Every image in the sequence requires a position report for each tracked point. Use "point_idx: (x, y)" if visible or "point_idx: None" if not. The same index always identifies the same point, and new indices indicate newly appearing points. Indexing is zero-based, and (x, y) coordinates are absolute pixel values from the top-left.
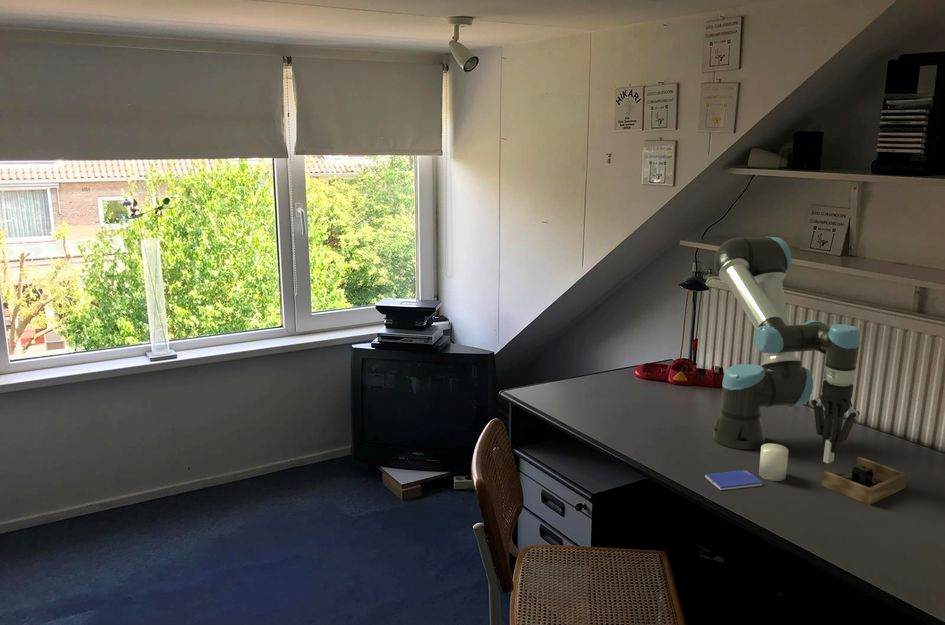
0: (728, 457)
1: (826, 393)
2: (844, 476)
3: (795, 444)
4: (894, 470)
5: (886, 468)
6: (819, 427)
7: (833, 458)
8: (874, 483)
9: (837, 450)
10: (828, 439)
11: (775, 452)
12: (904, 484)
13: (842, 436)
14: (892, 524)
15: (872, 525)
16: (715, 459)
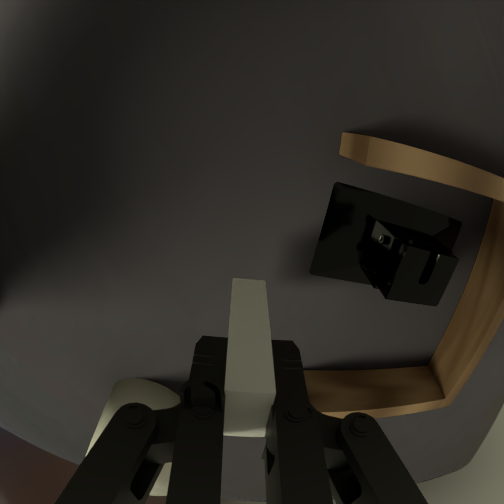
0: (26, 369)
1: None
2: (326, 259)
3: (11, 104)
4: None
5: (499, 199)
6: (142, 495)
7: (266, 294)
8: (437, 237)
9: (298, 353)
10: (229, 421)
11: (153, 492)
12: None
13: (358, 491)
14: (465, 396)
15: (432, 423)
16: (31, 391)
